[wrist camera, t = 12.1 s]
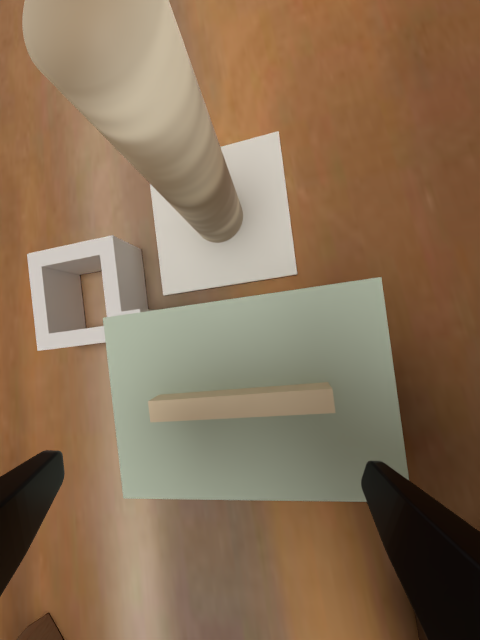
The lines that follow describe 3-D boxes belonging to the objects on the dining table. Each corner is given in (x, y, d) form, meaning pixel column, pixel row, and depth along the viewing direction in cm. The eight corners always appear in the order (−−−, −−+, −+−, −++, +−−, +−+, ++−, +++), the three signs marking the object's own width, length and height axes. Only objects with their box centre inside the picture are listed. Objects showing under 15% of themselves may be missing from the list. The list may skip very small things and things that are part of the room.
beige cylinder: (248, 196, 18) (175, -79, 6) (236, 246, 19) (141, 92, 6) (200, 188, 19) (37, -72, 6) (189, 238, 19) (11, 81, 6)
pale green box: (341, 209, 17) (374, 147, 11) (374, 447, 17) (426, 522, 11) (67, 264, 22) (-20, 241, 16) (88, 454, 22) (8, 510, 15)
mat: (278, 134, 18) (278, 131, 18) (296, 274, 18) (297, 274, 18) (149, 168, 20) (147, 166, 20) (165, 295, 20) (163, 295, 20)
